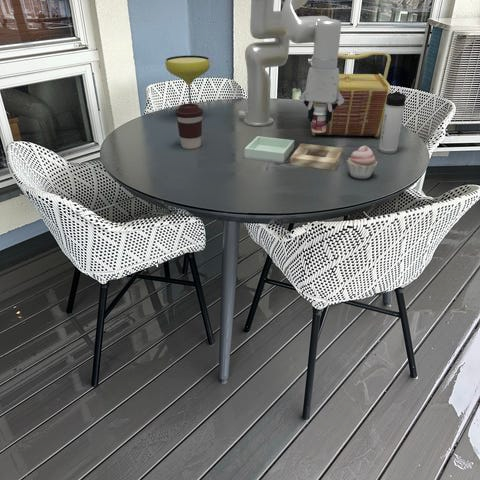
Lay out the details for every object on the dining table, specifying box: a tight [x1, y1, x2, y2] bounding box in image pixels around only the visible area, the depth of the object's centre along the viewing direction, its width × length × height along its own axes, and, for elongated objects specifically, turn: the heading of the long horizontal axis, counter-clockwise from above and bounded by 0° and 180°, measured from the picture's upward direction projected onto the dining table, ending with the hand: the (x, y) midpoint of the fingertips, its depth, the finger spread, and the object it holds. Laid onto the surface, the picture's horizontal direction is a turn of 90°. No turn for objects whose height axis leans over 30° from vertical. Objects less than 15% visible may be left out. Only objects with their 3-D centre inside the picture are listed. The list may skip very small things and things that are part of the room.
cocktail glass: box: [165, 55, 211, 119], centre depth 191 cm, size 18×18×25 cm
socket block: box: [289, 143, 344, 171], centre depth 155 cm, size 15×15×2 cm
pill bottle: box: [311, 104, 327, 133], centre depth 148 cm, size 5×5×8 cm
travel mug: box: [378, 91, 407, 155], centre depth 157 cm, size 6×7×20 cm
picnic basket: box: [310, 51, 392, 138], centre depth 175 cm, size 29×26×30 cm
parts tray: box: [244, 135, 295, 164], centre depth 160 cm, size 14×14×4 cm
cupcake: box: [346, 145, 378, 180], centre depth 141 cm, size 9×9×10 cm
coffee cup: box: [174, 102, 204, 150], centre depth 164 cm, size 10×10×15 cm
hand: (319, 121), depth 149 cm, fingers closed on pill bottle, 4 cm apart
